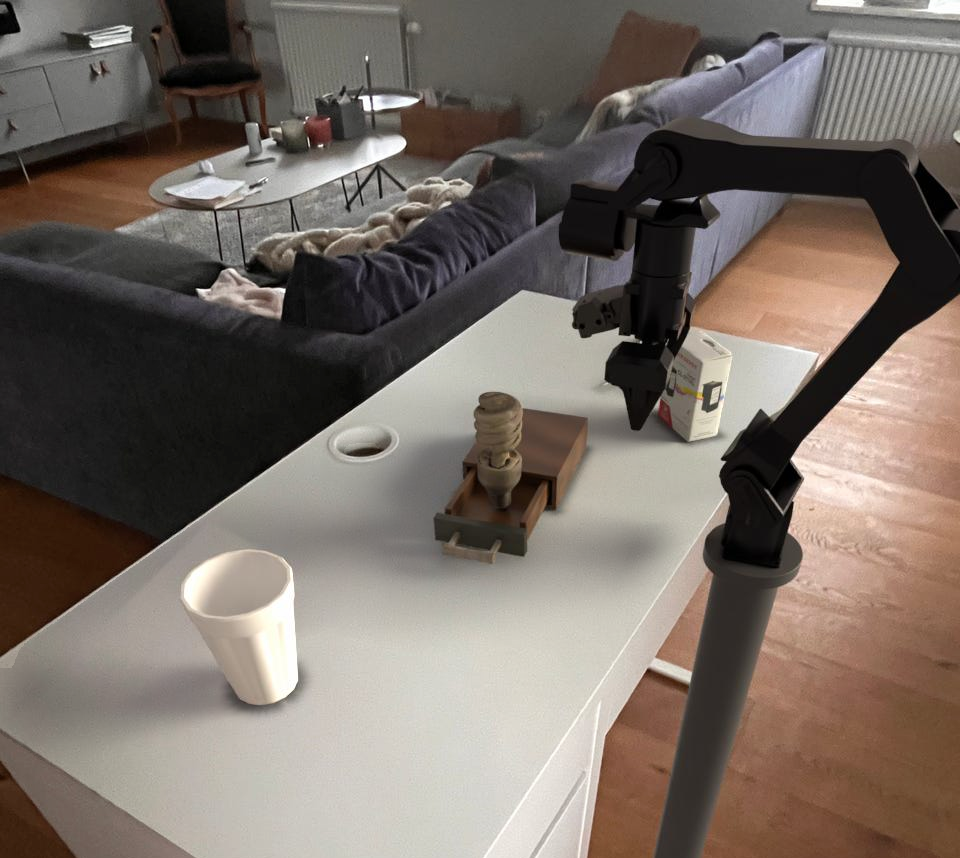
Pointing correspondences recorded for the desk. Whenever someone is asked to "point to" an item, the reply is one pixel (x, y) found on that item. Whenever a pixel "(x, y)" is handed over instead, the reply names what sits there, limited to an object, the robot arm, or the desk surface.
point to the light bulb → (498, 445)
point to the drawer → (490, 519)
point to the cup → (246, 621)
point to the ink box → (696, 387)
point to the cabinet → (545, 449)
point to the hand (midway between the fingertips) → (644, 410)
